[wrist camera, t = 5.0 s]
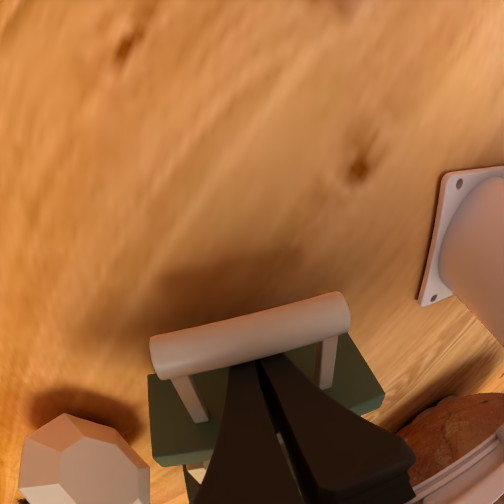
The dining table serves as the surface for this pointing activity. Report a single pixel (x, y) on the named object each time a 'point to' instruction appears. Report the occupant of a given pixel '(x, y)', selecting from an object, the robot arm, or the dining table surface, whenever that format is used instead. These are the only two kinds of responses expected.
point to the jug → (451, 432)
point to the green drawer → (240, 351)
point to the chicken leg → (81, 465)
